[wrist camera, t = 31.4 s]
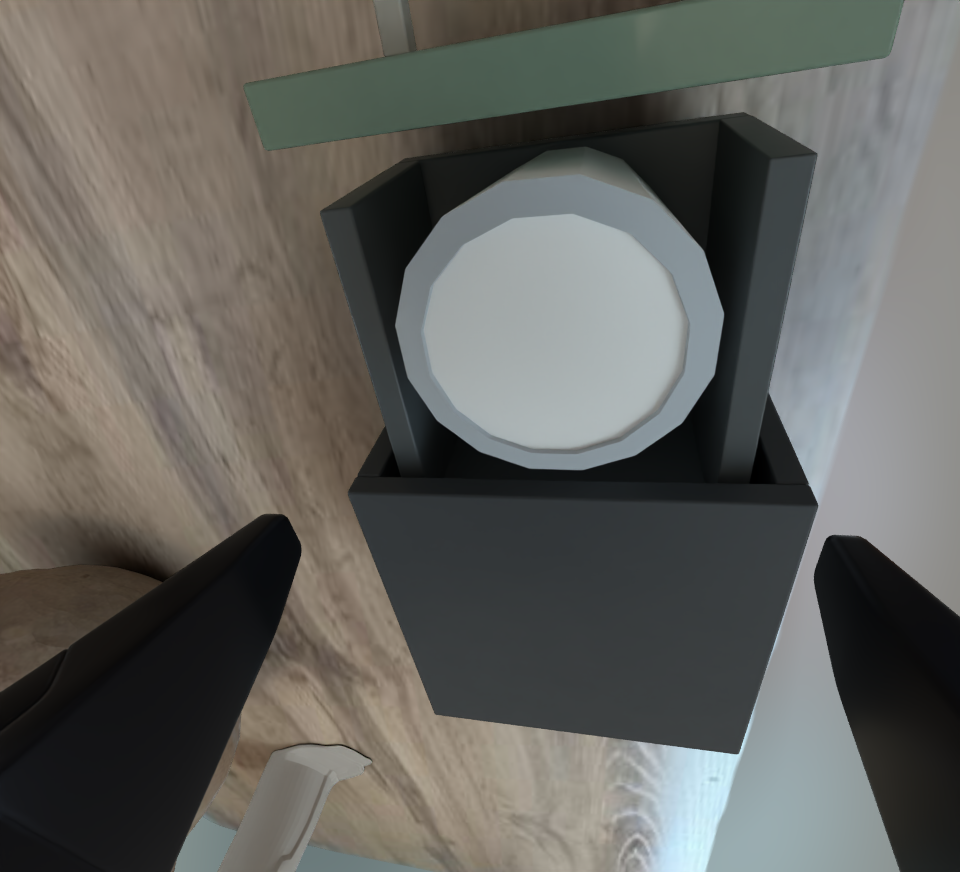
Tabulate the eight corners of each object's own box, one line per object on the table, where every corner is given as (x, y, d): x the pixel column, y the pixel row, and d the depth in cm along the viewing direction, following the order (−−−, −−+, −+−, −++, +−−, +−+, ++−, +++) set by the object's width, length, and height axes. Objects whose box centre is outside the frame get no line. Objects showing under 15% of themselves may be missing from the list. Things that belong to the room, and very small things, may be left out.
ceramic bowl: (200, 697, 51) (78, 897, 39) (-21, 563, 42) (-261, 766, 31) (345, 650, 39) (234, 911, 28) (82, 456, 31) (-233, 711, 19)
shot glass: (431, 165, 16) (339, 235, 10) (670, 81, 14) (711, 115, 8) (497, 360, 20) (455, 488, 14) (694, 321, 17) (734, 456, 12)
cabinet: (424, 354, 22) (345, 492, 16) (747, 341, 19) (820, 505, 13) (472, 564, 30) (434, 715, 24) (707, 578, 27) (739, 755, 21)
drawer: (312, -168, 13) (105, -308, 8) (839, -333, 10) (1094, -731, 5) (442, 412, 23) (393, 527, 18) (725, 409, 20) (766, 543, 15)
